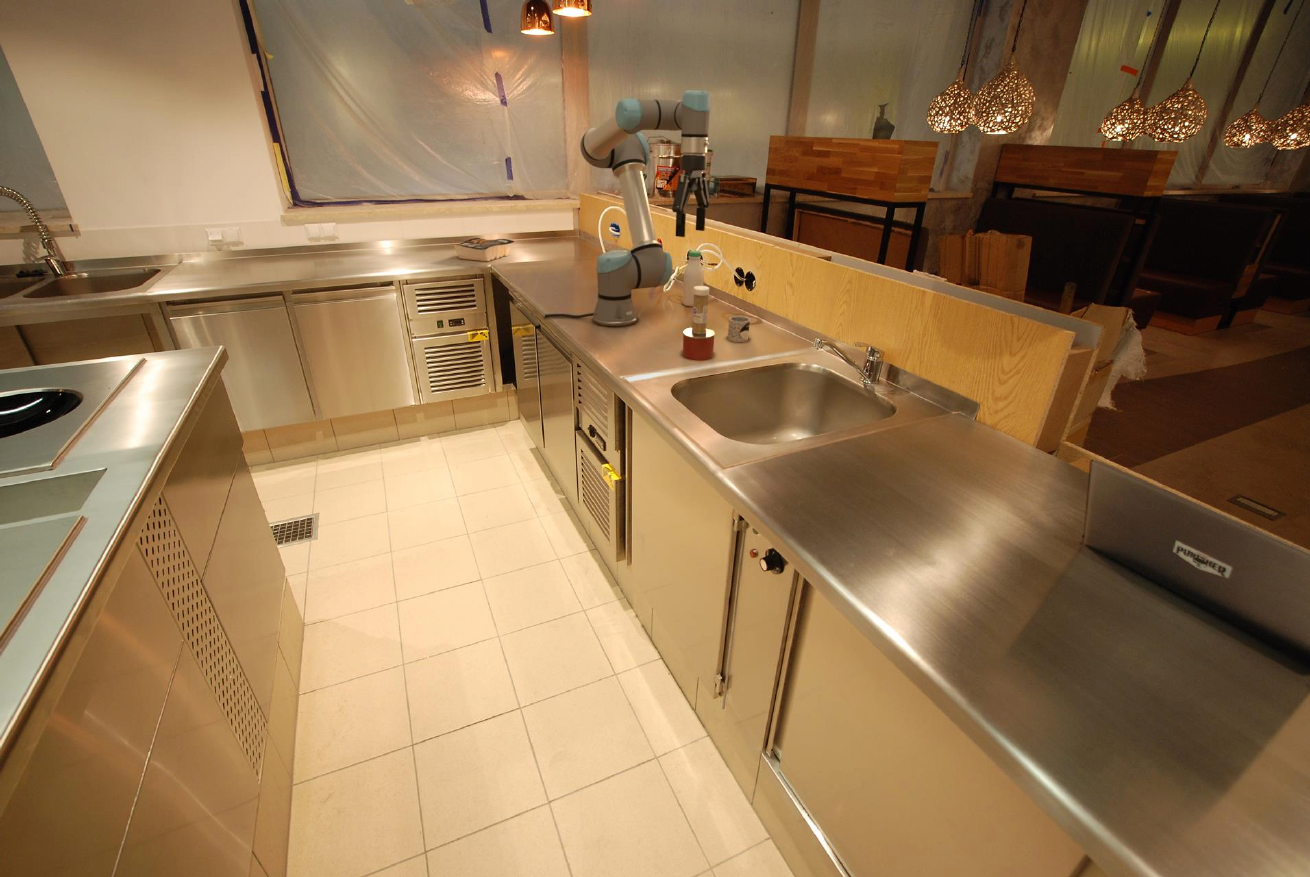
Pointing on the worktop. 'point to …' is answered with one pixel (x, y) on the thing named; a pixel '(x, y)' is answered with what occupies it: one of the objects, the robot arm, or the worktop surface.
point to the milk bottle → (692, 277)
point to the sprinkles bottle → (700, 309)
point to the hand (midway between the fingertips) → (690, 233)
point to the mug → (738, 329)
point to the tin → (698, 344)
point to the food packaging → (483, 249)
